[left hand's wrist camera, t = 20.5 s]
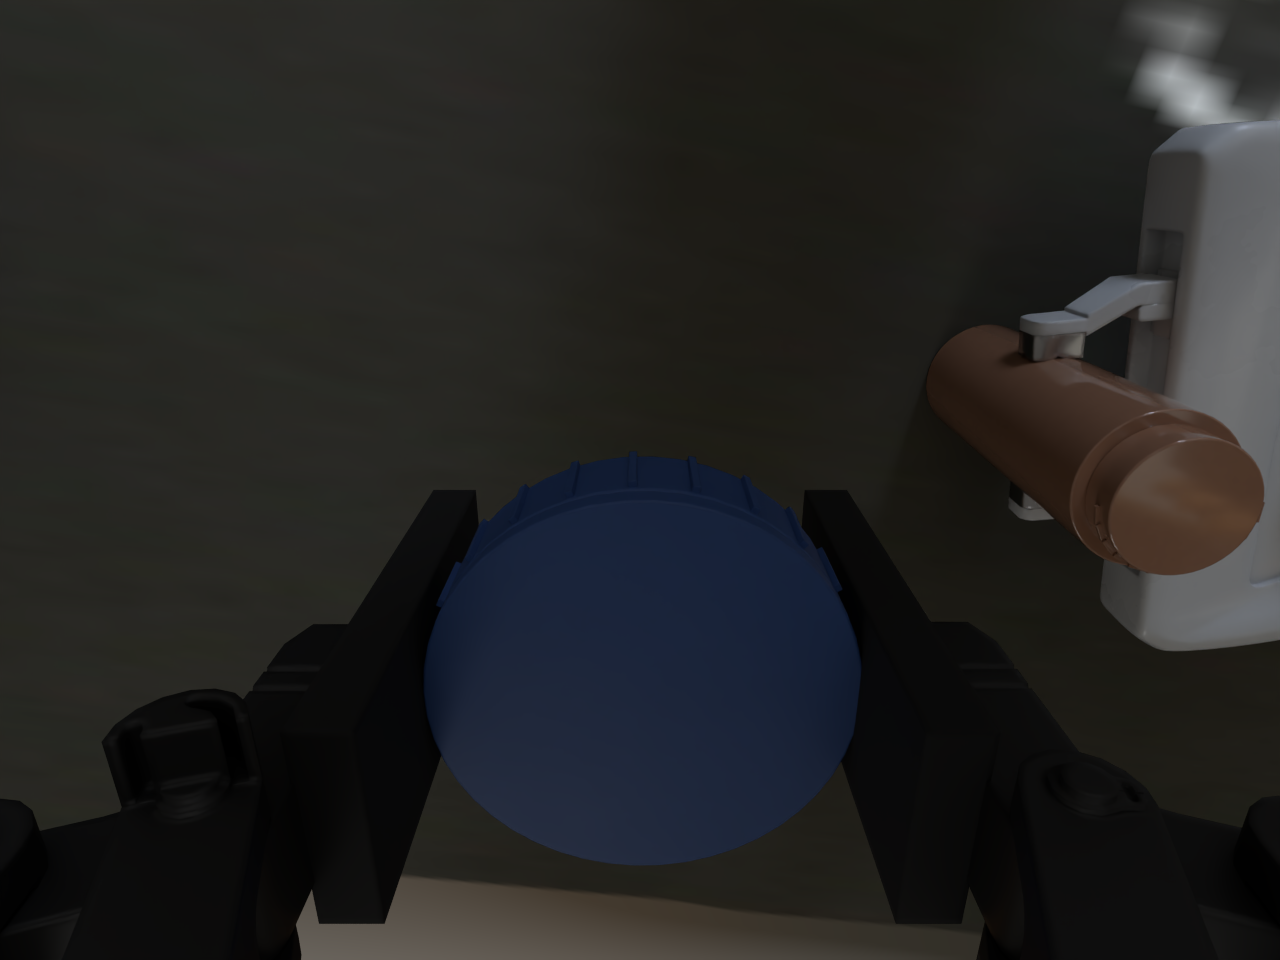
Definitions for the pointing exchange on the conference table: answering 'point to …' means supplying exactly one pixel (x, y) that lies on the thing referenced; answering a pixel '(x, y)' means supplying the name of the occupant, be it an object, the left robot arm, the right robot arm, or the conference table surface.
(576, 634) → the lid
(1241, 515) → the jar
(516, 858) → the conference table surface
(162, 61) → the conference table surface
